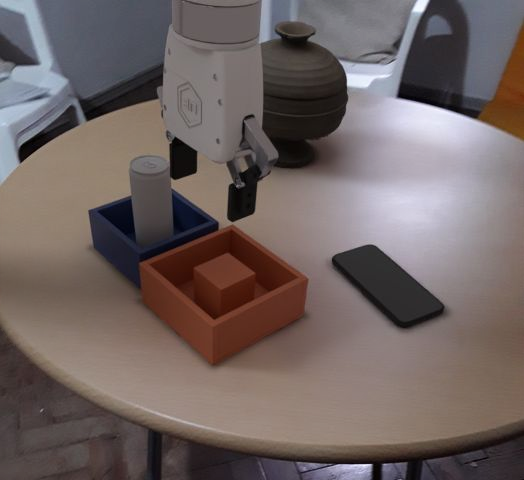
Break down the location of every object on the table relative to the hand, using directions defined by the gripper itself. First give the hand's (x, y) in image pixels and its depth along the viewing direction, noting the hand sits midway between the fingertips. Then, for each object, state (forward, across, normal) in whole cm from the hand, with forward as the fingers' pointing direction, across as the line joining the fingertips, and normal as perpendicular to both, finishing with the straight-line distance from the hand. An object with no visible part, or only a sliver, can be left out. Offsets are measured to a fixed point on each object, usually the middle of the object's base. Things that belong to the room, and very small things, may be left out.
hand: (211, 195), depth 65 cm
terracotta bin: (+14, +2, +1) cm, 14 cm away
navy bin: (+14, -12, +1) cm, 19 cm away
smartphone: (+14, +11, +20) cm, 26 cm away
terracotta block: (+14, +2, +1) cm, 14 cm away
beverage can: (+14, -12, +1) cm, 18 cm away
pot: (+14, -23, +34) cm, 43 cm away
